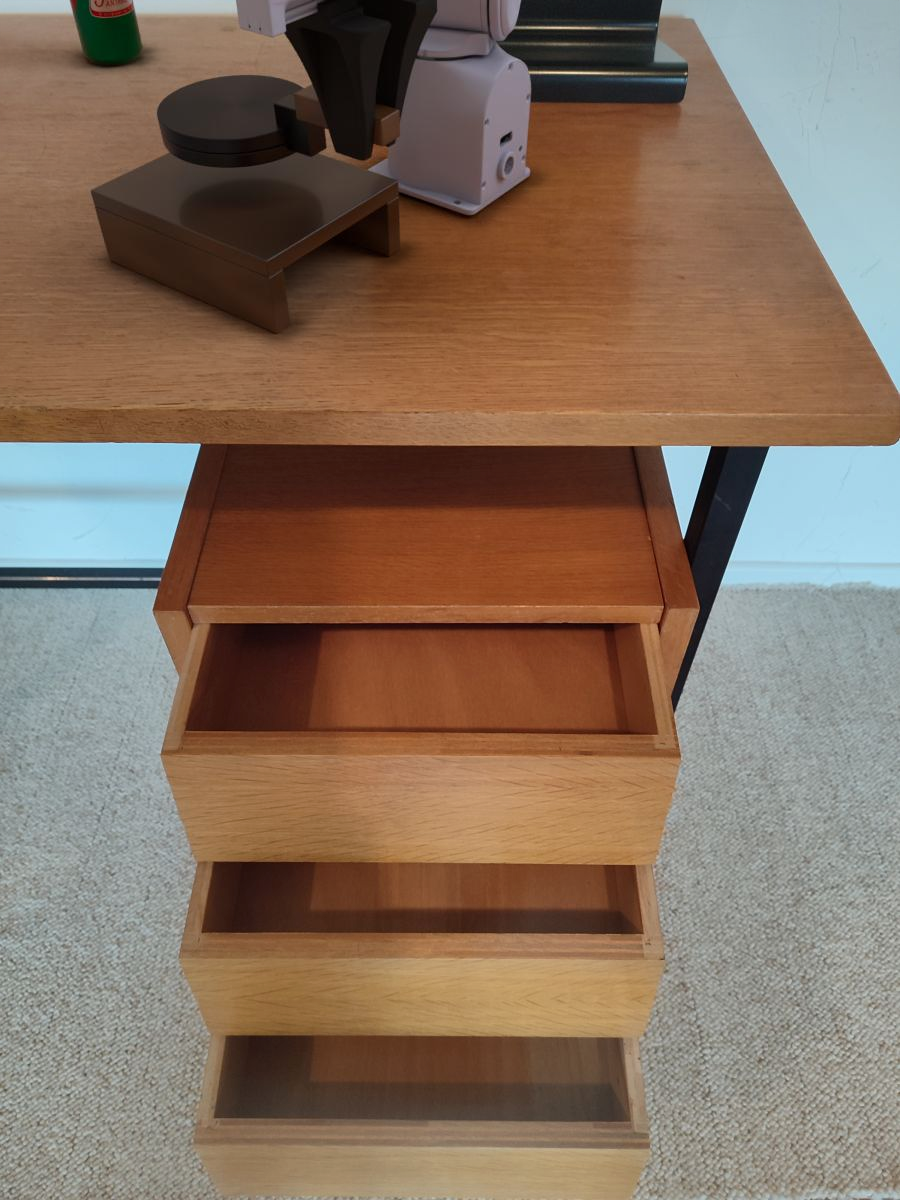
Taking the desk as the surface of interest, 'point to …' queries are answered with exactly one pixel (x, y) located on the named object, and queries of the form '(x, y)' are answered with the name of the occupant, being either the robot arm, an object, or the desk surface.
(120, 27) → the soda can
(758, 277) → the desk surface
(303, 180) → the brown stand
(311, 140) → the pan
